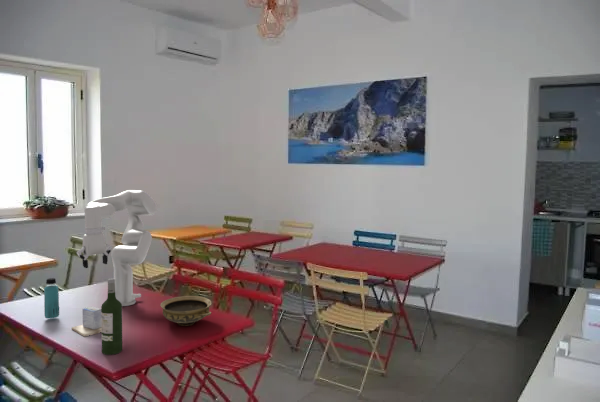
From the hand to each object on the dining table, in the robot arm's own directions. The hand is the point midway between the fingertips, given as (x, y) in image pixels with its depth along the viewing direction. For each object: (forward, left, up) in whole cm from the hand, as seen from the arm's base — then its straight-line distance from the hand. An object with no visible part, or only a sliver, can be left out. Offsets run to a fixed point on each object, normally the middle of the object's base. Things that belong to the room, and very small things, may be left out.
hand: (95, 265), depth 234 cm
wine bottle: (+15, +44, -26) cm, 53 cm away
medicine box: (+9, +14, -25) cm, 30 cm away
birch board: (+9, +14, -26) cm, 31 cm away
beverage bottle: (+16, -13, -26) cm, 33 cm away
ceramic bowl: (-26, +37, -26) cm, 52 cm away
